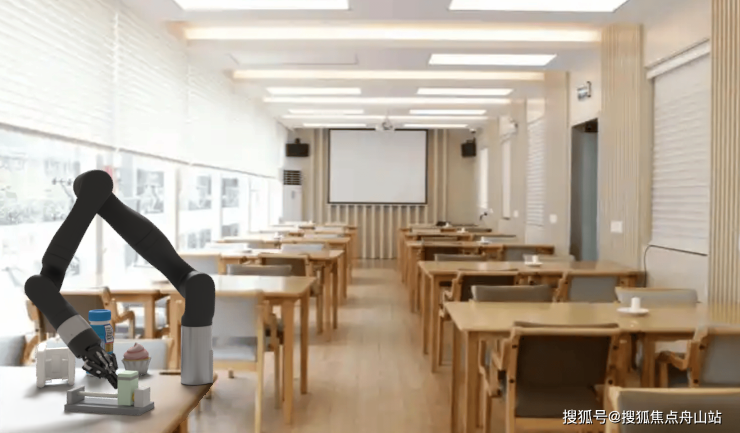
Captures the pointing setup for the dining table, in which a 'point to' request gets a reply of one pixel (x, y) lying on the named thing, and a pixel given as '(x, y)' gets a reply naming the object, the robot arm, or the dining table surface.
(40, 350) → the white plastic stand
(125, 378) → the notched mint block
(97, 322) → the beverage bottle
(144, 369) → the cupcake
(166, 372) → the dining table surface
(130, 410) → the grey slide rail
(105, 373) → the robot arm
